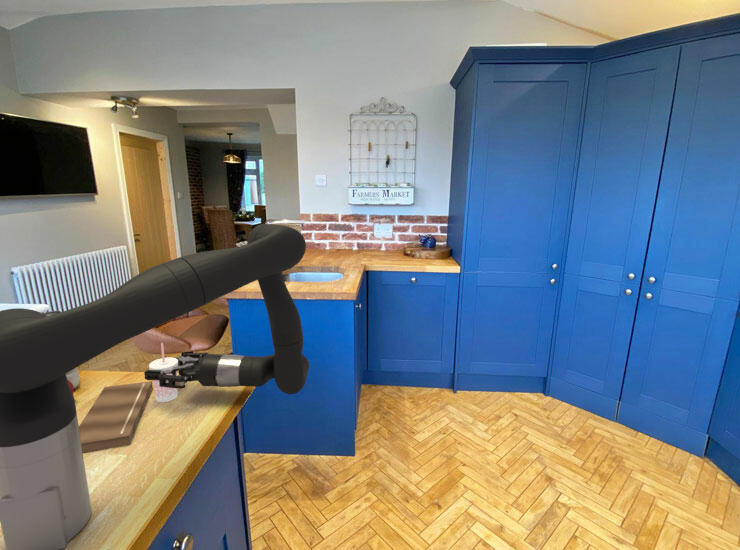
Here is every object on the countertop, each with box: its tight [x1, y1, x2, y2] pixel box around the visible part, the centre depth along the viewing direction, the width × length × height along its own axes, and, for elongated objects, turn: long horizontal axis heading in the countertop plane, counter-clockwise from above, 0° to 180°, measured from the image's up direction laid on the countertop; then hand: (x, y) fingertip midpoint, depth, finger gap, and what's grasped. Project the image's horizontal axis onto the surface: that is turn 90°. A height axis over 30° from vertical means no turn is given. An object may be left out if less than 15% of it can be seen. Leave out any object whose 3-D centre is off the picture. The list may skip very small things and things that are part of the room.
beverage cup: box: [148, 342, 178, 403], centre depth 86 cm, size 6×6×14 cm
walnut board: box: [79, 374, 179, 453], centre depth 81 cm, size 24×17×2 cm
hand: (154, 368), depth 86 cm, fingers closed on beverage cup, 6 cm apart
